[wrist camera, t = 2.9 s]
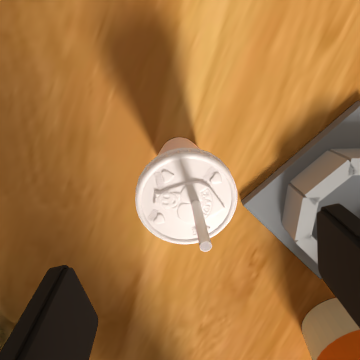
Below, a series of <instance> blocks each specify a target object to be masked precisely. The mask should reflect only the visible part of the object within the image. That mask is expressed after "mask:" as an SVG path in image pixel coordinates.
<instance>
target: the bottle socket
mask: <svg viewBox="0 0 360 360" xmlns="http://www.w3.org/2000/svg"><path fill="white" fill-rule="evenodd" d="M241 202H242V204H243V206H244V207H246V208H247V209H248V210H249V211H250V212H251V213H252V214H253V215H254V216H255V217H256V218H257V219H258V220H259V221H260V222H261V223H262V224H263V225H264V226H265V227H266V228H267V229H269V230H270V231H271V232H272V233H273V234H274V235H275V236H276V237H277V238H278V239H279V240H280V241H281V242H282V243H283V244H284V245H285V246H286V247H287V248H288V249H289V250H290V251H292V252H293V253H294V254H295V255H296V256H297V257H298V258H299V259H300V260H301V261H302V262H303V263H304V264H305V265H306V266H307V267H308V268H309V269H310V270H311V271H312V272H313V273H315V274H316V275H317V276H318V277H319V278H320V279H322V277H321V275H320V273H319V270H318V253H317V212H319V211H320V209H321V207H323V206H328V205H332V204H336V203H339V204H341V205H343V206H344V207H345V208H346V209H348V210H349V211H350V212H352V213H353V214H354V215H355V216H357V217H358V218H359V219H360V101H356V102H355V103H354V104H353V105H352V106H351V107H349V108H348V109H347V110H346V111H345V112H344V113H342V114H341V115H340V116H339V117H338V118H337V119H336V120H334V121H333V122H332V123H331V124H330V125H329V126H327V127H326V128H325V129H324V130H323V131H322V132H320V133H319V134H318V135H317V136H316V137H315V138H313V139H312V140H311V141H310V142H309V143H308V144H307V145H305V146H304V147H303V148H302V149H301V150H300V151H298V152H297V153H296V154H295V155H294V156H293V157H291V158H290V159H289V160H288V161H287V162H286V163H285V164H283V165H282V166H281V167H280V168H279V169H278V170H276V171H275V172H274V173H273V174H272V175H271V176H269V177H268V178H267V179H266V180H265V181H264V182H262V183H261V184H260V185H259V186H258V187H257V188H256V189H254V190H253V191H252V192H251V193H250V194H249V195H247V196H246V197H245V198H244V199H243V200H242V201H241Z"/></svg>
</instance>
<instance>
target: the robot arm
mask: <svg viewBox="0 0 360 360" xmlns="http://www.w3.org/2000/svg"><path fill="white" fill-rule="evenodd" d="M317 253H318V270H319V273H320V275H321V277H322V279H323V280H324V281H325V283H326V284H327V285H328V287H329V288H330V289H331V291H332V292H333V293H334V295H335V296H336V297H337V299H338V300H339V301H340V303H341V304H342V305H343V307H344V308H345V310H346V311H347V312H348V314H349V315H350V316H351V318H352V319H353V320H354V322H355V323H356V324H357V326H358V327H359V328H360V219H359V218H358V217H357V216H355V215H354V214H353V213H352V212H350V211H349V210H348V209H346V208H345V207H344V206H343V205H341V204H339V203H336V204H332V205H328V206H323V207H321V209H320V211H319V212H317ZM97 327H98V317H97V314H96V312H95V310H94V308H93V306H92V304H91V302H90V300H89V299H88V297H87V295H86V293H85V291H84V289H83V287H82V285H81V283H80V281H79V279H78V277H77V275H76V273H75V271H74V270H73V268H69V267H68V266H67V265H62V266H58V267H53V268H50V269H49V270H48V271H47V273H46V275H45V276H44V278H43V280H42V282H41V283H40V285H39V287H38V288H37V290H36V292H35V294H34V295H33V297H32V299H31V300H30V302H29V304H28V306H27V307H26V309H25V311H24V312H23V314H22V316H21V318H20V319H19V321H18V323H17V325H16V326H15V328H14V330H13V331H12V333H11V335H10V337H9V338H8V340H7V342H6V343H5V345H4V347H3V349H2V350H1V352H0V360H89V357H90V353H91V350H92V346H93V342H94V338H95V334H96V331H97Z"/></svg>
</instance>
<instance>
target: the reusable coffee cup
mask: <svg viewBox="0 0 360 360" xmlns="http://www.w3.org/2000/svg"><path fill="white" fill-rule="evenodd" d="M301 329H302V334H303V336H304V339H305V342H306V344H307V347H308V349H309V352H310V355H311V357H312V360H360V328H359V327H358V326H357V324H356V323H355V322H354V320H353V319H352V318H351V316H350V315H349V314H348V312H347V311H346V310H345V308H344V307H343V305H342V304H341V303H340V301H339V300H338V299H337V298H333V299H329V300H327V301H324V302H322V303H320V304H319V305H317V306H315V307H314V308H313V309H312V310H311V311H310V312H309V313H308V314H307V315H306V317H305V318H304V320H303V323H302V328H301Z"/></svg>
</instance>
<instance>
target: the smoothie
mask: <svg viewBox="0 0 360 360" xmlns="http://www.w3.org/2000/svg"><path fill="white" fill-rule="evenodd" d="M135 201H136V209H137V213H138V215H139V218H140V220H141V221H142V223H143V224H144V226H145V227H146V228H147V229H148V230H149V231H150V232H151V233H152V234H154V235H155V236H157V237H158V238H160V239H162V240H165V241H168V242H171V243H176V244H193V243H198V242H199V246H200V249H201V250H202V251H204V252H206V251H209V250H210V249H211V247H212V245H211V241H210V238H211V237H213V236H215V235H216V234H218V233H219V232H220V231H221V230H222V229H224V228H225V226H226V225H227V224H228V223H229V221H230V220H231V218H232V216H233V214H234V212H235V209H236V205H237V189H236V185H235V182H234V179H233V177H232V175H231V173H230V171H229V169H228V168H227V167H226V165H225V164H224V163H223V162H222V161H221V160H220V159H219V158H217V157H216V156H214V155H213V154H211V153H209V152H207V151H204V150H201V149H200V148H199V147H197V146H196V145H195V144H194V143H193V142H192V141H190V140H189V139H186V138H182V137H177V138H173V139H170V140H169V141H167V142H166V143H165V144H164V145H163V147H162V149H161V150H160V152H159V154H158V155H157V157H155V158H154V159H153V160H152V161H151V162H150V163H149V164H148V165H147V166H146V167H145V168H144V170H143V172H142V173H141V175H140V176H139V179H138V183H137V186H136V198H135Z"/></svg>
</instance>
